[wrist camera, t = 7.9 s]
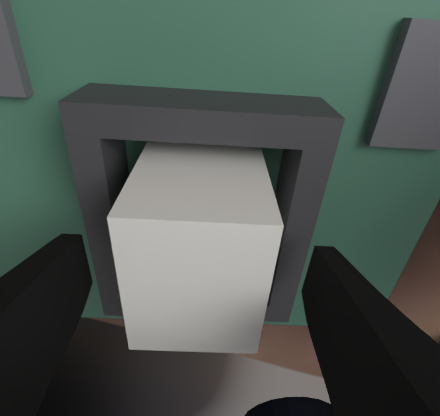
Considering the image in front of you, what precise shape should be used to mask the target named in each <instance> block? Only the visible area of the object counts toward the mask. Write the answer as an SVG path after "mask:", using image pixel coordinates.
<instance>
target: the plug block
mask: <svg viewBox="0 0 440 416" xmlns="http://www.w3.org/2000/svg"><path fill="white" fill-rule="evenodd" d="M107 221H108V227H109V233H110V239H111V245H112V251H113V257H114V263H115V269H116V275H117V281H118V287H119V293H120V299H121V305H122V311H123V316H124V322H125V328H126V334H127V340H128V346H129V350H158V351H186V352H216V353H246V354H257V351H258V346H259V341H260V337H261V332H262V327H263V322H264V318H265V313H266V308H267V303H268V299H269V294H270V289H271V284H272V280H273V275H274V270H275V266H276V261H277V256H278V251H279V247H280V242H281V237H282V232H283V228H284V225H283V221H282V218H281V214H280V211H279V208H278V204H277V201H276V197H275V194H274V191H273V187H272V184H271V180H270V177H269V174H268V170H267V167H266V163H265V160H264V157H263V153H262V150H261V148H260V147H242V146H224V145H206V144H189V143H171V142H153V141H148V142H147V144H146V145H145V147H144V149H143V151H142V153H141V155H140V157H139V158H138V160H137V162H136V164H135V166H134V168H133V170H132V172H131V173H130V175H129V177H128V179H127V181H126V183H125V185H124V186H123V188H122V190H121V192H120V194H119V196H118V198H117V200H116V201H115V203H114V205H113V207H112V209H111V211H110V213H109V214H108V216H107Z"/></svg>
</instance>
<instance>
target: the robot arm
mask: <svg viewBox="0 0 440 416" xmlns="http://www.w3.org/2000/svg"><path fill="white" fill-rule="evenodd" d="M92 283H93V281H92V277H91V272H90V268H89V263H88V259H87V255H86V250H85V246H84V242H83V237H82V234H63V233H62V234H60V235H59V236H57V237H56V238H54V239H53V240H51V241H50V242H49V243H47V244H46V245H44V246H43V247H42V248H40V249H39V250H37V251H36V252H35V253H33V254H32V255H31V256H29V257H28V258H26V259H25V260H24V261H22V262H21V263H20V264H18V265H17V266H15V267H14V268H13V269H11V270H10V271H8V272H7V273H6V274H4V275H3V276H1V277H0V416H37V412H38V410H39V407H40V405H41V402H42V399H43V397H44V395H45V393H46V390H47V388H48V386H49V383H50V381H51V379H52V377H53V375H54V373H55V371H56V369H57V367H58V364H59V362H60V360H61V358H62V356H63V354H64V352H65V350H66V348H67V346H68V343H69V341H70V339H71V337H72V335H73V333H74V331H75V329H76V326H77V324H78V322H79V320H80V318H81V316H82V313H83V311H84V308H85V305H86V302H87V299H88V296H89V293H90V289H91V286H92ZM301 292H302V299H303V305H304V311H305V316H306V321H307V325H308V328H309V332H310V335H311V338H312V342H313V345H314V348H315V352H316V355H317V358H318V362H319V365H320V368H321V371H322V375H323V378H324V381H325V384H326V388H327V391H328V394H329V398H330V402H331V406H332V410H333V414H334V416H440V344H438V343H437V342H436V341H434V340H433V339H432V338H431V337H430V336H428V335H427V334H426V333H425V332H424V331H422V330H421V329H420V328H419V327H418V326H417V325H415V324H414V323H413V322H412V321H411V320H410V319H409V318H407V317H406V316H405V315H404V314H403V313H402V312H401V311H400V310H398V309H397V308H396V307H395V306H394V305H393V304H392V303H391V302H390V301H389V300H388V299H387V298H386V297H384V296H383V295H382V294H381V293H380V292H379V291H378V290H377V289H376V288H375V287H374V286H373V285H372V284H371V283H370V282H369V281H368V280H367V279H366V278H365V277H364V276H363V275H362V274H361V273H360V272H359V271H358V270H357V269H356V268H355V267H354V266H353V265H352V264H351V263H350V262H349V261H348V260H347V259H346V258H345V257H344V256H343V255H342V254H341V253H340V252H339V251H338V250H337V249H336V248H335V247H334V246H314V249H313V253H312V256H311V259H310V263H309V266H308V270H307V273H306V277H305V280H304V284H303V287H302V290H301Z"/></svg>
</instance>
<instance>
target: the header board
mask: <svg viewBox="0 0 440 416" xmlns="http://www.w3.org/2000/svg"><path fill="white" fill-rule="evenodd" d="M148 141H153V142H171V143H189V144H206V145H224V146H242V147H260V148H261V150H262V153H263V157H264V160H265V163H266V167H267V170H268V174H269V177H270V180H271V184H272V187H273V191H274V194H275V197H276V201H277V204H278V208H279V211H280V214H281V218H282V221H283V225H284V228H283V232H282V237H281V242H280V247H279V251H278V256H277V261H276V266H275V270H274V275H273V280H272V284H271V289H270V294H269V299H268V303H267V308H266V313H265V318H264V322H263V324H274V325H301V326H308V325H307V321H306V316H305V311H304V305H303V299H302V292H301V290H302V287H303V284H304V280H305V277H306V273H307V270H308V266H309V263H310V259H311V256H312V253H313V249H314V246H334V247H335V248H336V249H337V250H338V251H339V252H340V253H341V254H342V255H343V256H344V257H345V258H346V259H347V260H348V261H349V262H350V263H351V264H352V265H353V266H354V267H355V268H356V269H357V270H358V271H359V272H360V273H361V274H362V275H363V276H364V277H365V278H366V279H367V280H368V281H369V282H370V283H371V284H372V285H373V286H374V287H375V288H376V289H377V290H378V291H379V292H380V293H381V294H382V295H383V296H384V297H386V298H387V299H388V298H389V296H390V294H391V292H392V290H393V288H394V287H395V285H396V283H397V281H398V279H399V277H400V275H401V273H402V271H403V269H404V267H405V265H406V263H407V261H408V260H409V258H410V256H411V254H412V252H413V250H414V248H415V246H416V244H417V242H418V240H419V238H420V236H421V234H422V232H423V231H424V229H425V227H426V225H427V223H428V221H429V219H430V217H431V215H432V213H433V211H434V209H435V207H436V205H437V204H438V202H439V200H440V0H0V277H1V276H3V275H4V274H6V273H7V272H8V271H10V270H11V269H13V268H14V267H15V266H17V265H18V264H20V263H21V262H22V261H24V260H25V259H26V258H28V257H29V256H31V255H32V254H33V253H35V252H36V251H37V250H39V249H40V248H42V247H43V246H44V245H46V244H47V243H49V242H50V241H51V240H53V239H54V238H56V237H57V236H59V235H60V234H62V233H63V234H82V237H83V242H84V246H85V250H86V255H87V259H88V263H89V268H90V272H91V277H92V281H93V283H92V286H91V289H90V293H89V296H88V299H87V302H86V305H85V308H84V311H83V313H82V316H81V317H86V318H113V319H124V316H123V311H122V305H121V299H120V293H119V287H118V281H117V275H116V269H115V263H114V257H113V251H112V245H111V239H110V233H109V227H108V221H107V216H108V214H109V213H110V211H111V209H112V207H113V205H114V203H115V201H116V200H117V198H118V196H119V194H120V192H121V190H122V188H123V186H124V185H125V183H126V181H127V179H128V177H129V175H130V173H131V172H132V170H133V168H134V166H135V164H136V162H137V160H138V158H139V157H140V155H141V153H142V151H143V149H144V147H145V145H146V144H147V142H148Z"/></svg>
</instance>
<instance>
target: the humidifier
mask: <svg viewBox="0 0 440 416" xmlns="http://www.w3.org/2000/svg"><path fill="white" fill-rule="evenodd" d="M245 416H334V414H333V410H332V406H331V404H329V403H327V402H324V401H322V400H319V399H314V398H308V397H285V398H279V399H273V400H270V401H267V402H264V403H262V404H259V405H257V406H255V407H254V408H252V409H251V410H249V411H248V412H247V413H246V415H245Z"/></svg>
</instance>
